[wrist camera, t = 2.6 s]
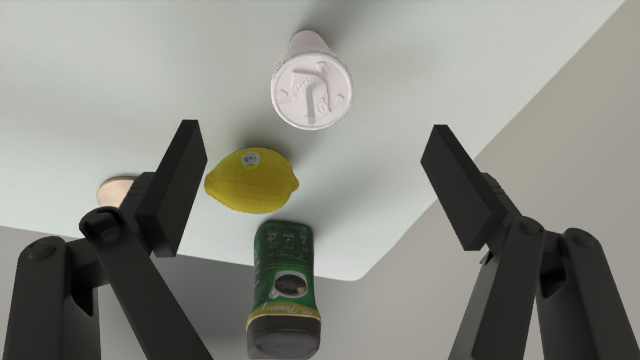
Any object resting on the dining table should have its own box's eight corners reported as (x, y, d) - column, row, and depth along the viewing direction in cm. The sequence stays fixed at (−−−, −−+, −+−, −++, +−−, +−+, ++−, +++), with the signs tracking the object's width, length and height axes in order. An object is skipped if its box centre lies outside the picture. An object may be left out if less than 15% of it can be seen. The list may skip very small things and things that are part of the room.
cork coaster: (115, 225, 45) (114, 228, 44) (85, 176, 38) (82, 179, 38) (184, 224, 46) (183, 227, 45) (166, 176, 39) (164, 179, 39)
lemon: (304, 143, 37) (307, 187, 31) (290, 186, 42) (290, 232, 36) (214, 125, 35) (199, 170, 29) (211, 174, 39) (197, 220, 34)
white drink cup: (314, -2, 26) (330, 57, 16) (350, 56, 30) (382, 134, 20) (260, 42, 29) (245, 119, 18) (300, 92, 32) (306, 178, 22)
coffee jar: (251, 244, 51) (237, 368, 37) (260, 215, 46) (248, 345, 32) (305, 251, 53) (310, 368, 40) (319, 224, 48) (331, 348, 35)
